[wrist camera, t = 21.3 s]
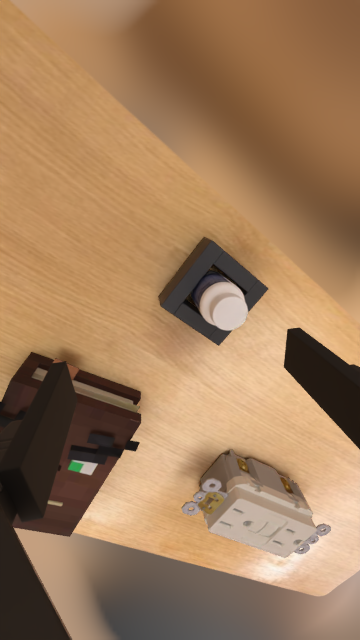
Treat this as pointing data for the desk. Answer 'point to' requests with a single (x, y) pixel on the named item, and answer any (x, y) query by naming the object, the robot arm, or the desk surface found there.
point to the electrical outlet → (255, 507)
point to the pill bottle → (220, 301)
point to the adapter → (190, 277)
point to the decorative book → (77, 438)
